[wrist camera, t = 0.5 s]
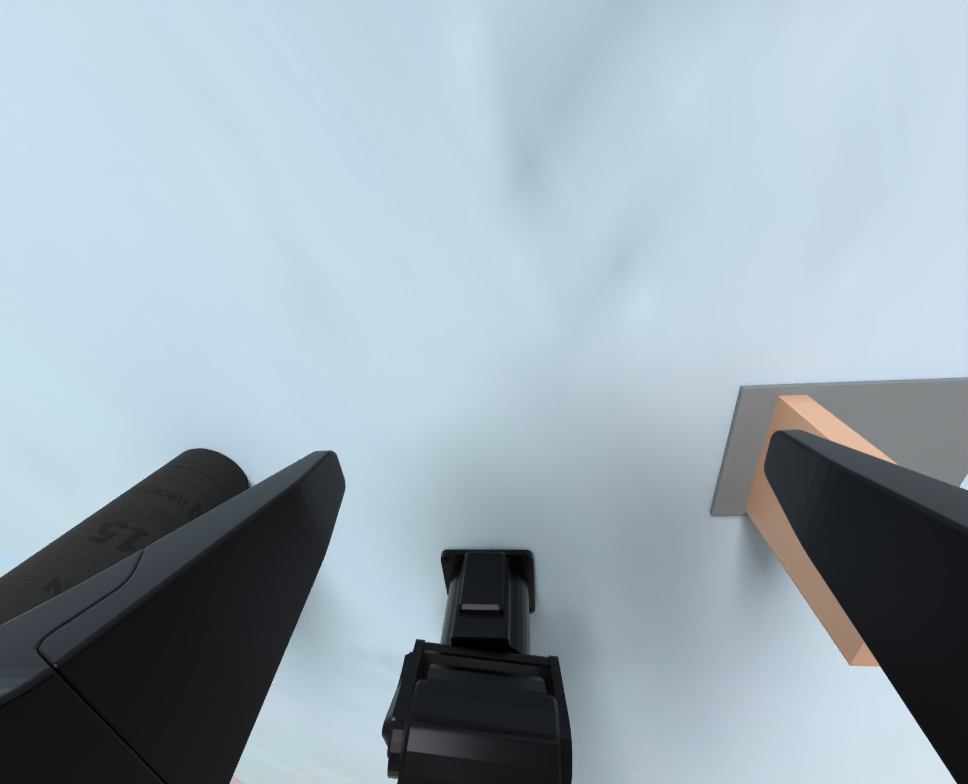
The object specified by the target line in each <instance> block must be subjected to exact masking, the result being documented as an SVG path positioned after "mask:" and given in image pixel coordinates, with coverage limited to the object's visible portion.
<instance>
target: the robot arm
mask: <svg viewBox="0 0 968 784" xmlns="http://www.w3.org/2000/svg"><path fill="white" fill-rule="evenodd" d="M764 473H765V476H766V478H767V480H768V482H769V484H770V486H771V488H772V490H773V492H774V494H775V496H776V498H777V500H778V502H779V504H780V506H781V508H782V510H783V512H784V514H785V516H786V517H787V519H788V521H789V523H790V525H791V527H792V529H793V531H794V533H795V535H796V537H797V538H798V540H799V542H800V544H801V546H802V547H803V549H804V550H805V552H806V554H807V555H808V557H809V558H810V560H811V561H812V563H813V565H814V566H815V568H816V569H817V571H818V572H819V574H820V575H821V577H822V578H823V580H824V581H825V583H826V584H827V586H828V587H829V589H830V590H831V592H832V594H833V595H834V597H835V598H836V600H837V601H838V603H839V604H840V606H841V607H842V609H843V610H844V612H845V613H846V615H847V616H848V618H849V619H850V621H851V623H852V624H853V626H854V627H855V629H856V630H857V632H858V633H859V635H860V636H861V638H862V639H863V641H864V642H865V644H866V645H867V647H868V648H869V650H870V652H871V653H872V655H873V656H874V658H875V659H876V661H877V662H878V664H879V665H880V667H881V668H882V670H883V671H884V673H885V674H886V676H887V677H888V679H889V681H890V682H891V684H892V685H893V687H894V688H895V690H896V691H897V693H898V694H899V696H900V697H901V699H902V700H903V702H904V703H905V705H906V706H907V708H908V710H909V711H910V713H911V714H912V716H913V717H914V719H915V720H916V722H917V723H918V725H919V726H920V728H921V729H922V731H923V732H924V734H925V735H926V737H927V739H928V740H929V742H930V743H931V745H932V746H933V748H934V749H935V751H936V752H937V754H938V755H939V757H940V758H941V760H942V761H943V763H944V765H945V766H946V768H947V769H948V771H949V772H950V774H951V775H952V777H953V778H954V780H955V781H956V783H957V784H968V490H965V489H963V488H960V487H957V486H954V485H952V484H949V483H946V482H943V481H941V480H938V479H935V478H932V477H930V476H927V475H924V474H921V473H919V472H916V471H913V470H910V469H908V468H905V467H902V466H899V465H897V464H894V463H891V462H888V461H886V460H883V459H880V458H877V457H875V456H872V455H869V454H866V453H864V452H861V451H858V450H855V449H853V448H850V447H847V446H844V445H842V444H839V443H836V442H833V441H831V440H828V439H825V438H822V437H820V436H817V435H814V434H811V433H809V432H806V431H803V430H800V429H786V430H777V431H775V432H773V434H772V435H771V438H770V442H769V445H768V449H767V453H766V457H765V461H764ZM344 492H345V479H344V476H343V472H342V469H341V466H340V463H339V460H338V457H337V455H336V453H335V452H333V451H315V452H313V453H311V454H309V455H307V456H306V457H304V458H302V459H300V460H299V461H297V462H295V463H293V464H292V465H290V466H288V467H286V468H285V469H283V470H281V471H279V472H277V473H276V474H274V475H272V476H270V477H269V478H267V479H265V480H263V481H262V482H260V483H258V484H256V485H255V486H253V487H251V488H249V489H248V490H246V491H244V492H242V493H240V494H239V495H237V496H235V497H233V498H232V499H230V500H228V501H226V502H225V503H223V504H221V505H219V506H218V507H216V508H214V509H212V510H210V511H209V512H207V513H205V514H203V515H202V516H200V517H198V518H196V519H195V520H193V521H191V522H189V523H188V524H186V525H184V526H182V527H181V528H179V529H177V530H175V531H173V532H172V533H170V534H168V535H166V536H165V537H163V538H161V539H159V540H158V541H156V542H154V543H152V544H151V545H149V546H147V547H146V548H145V550H140V551H138V552H136V553H135V554H133V555H131V556H129V557H127V558H126V559H124V560H122V561H120V562H119V563H117V564H115V565H113V566H111V567H110V568H108V569H106V570H104V571H102V572H101V573H99V574H97V575H95V576H93V577H92V578H90V579H88V580H86V581H84V582H83V583H81V584H79V585H77V586H75V587H73V588H71V589H69V590H67V591H66V592H64V593H62V594H60V595H58V596H56V597H54V598H52V599H50V600H48V601H47V602H45V603H43V604H41V605H39V606H37V607H35V608H33V609H31V610H29V611H27V612H26V613H24V614H22V615H20V616H18V617H16V618H14V619H12V620H10V621H8V622H6V623H4V624H2V625H0V784H230V781H231V779H232V776H233V774H234V772H235V769H236V767H237V764H238V762H239V760H240V757H241V755H242V753H243V750H244V748H245V745H246V743H247V741H248V738H249V736H250V733H251V731H252V729H253V726H254V724H255V722H256V719H257V717H258V714H259V712H260V710H261V707H262V705H263V703H264V700H265V698H266V695H267V693H268V691H269V688H270V686H271V683H272V681H273V679H274V676H275V674H276V672H277V669H278V667H279V664H280V662H281V660H282V657H283V655H284V653H285V650H286V648H287V645H288V643H289V641H290V638H291V636H292V633H293V631H294V629H295V626H296V624H297V622H298V619H299V617H300V614H301V612H302V610H303V607H304V605H305V603H306V600H307V598H308V595H309V593H310V591H311V588H312V586H313V583H314V581H315V579H316V576H317V574H318V572H319V569H320V567H321V564H322V562H323V559H324V557H325V554H326V551H327V548H328V545H329V542H330V539H331V536H332V532H333V529H334V526H335V522H336V519H337V516H338V512H339V509H340V506H341V502H342V499H343V496H344ZM441 563H442V569H443V574H444V579H445V584H446V589H447V594H448V600H447V606H446V612H445V618H444V625H443V631H442V637H441V643H440V644H438V643H430V642H425V640H420V639H416V642H415V646H414V649H413V652H410V653H409V654H407V655H405V659H404V663H403V667H402V671H401V676H400V680H399V683H398V686H397V689H396V692H395V695H394V697H393V700H392V702H391V705H390V708H389V710H388V713H387V715H386V718H385V721H384V724H383V729H382V736H383V738H384V740H385V742H386V744H387V746H388V751H387V758H389V760H388V778H394V779H398V783H397V784H571V781H572V740H571V729H570V722H569V716H568V711H567V705H566V699H565V694H564V688H563V683H562V677H561V671H560V666H559V660H558V656H550V655H549V656H548V657H544V656H536V655H530V625H529V614H530V613H533V612H534V611H535V599H534V572H533V554H532V552H531V551H528V550H445V551H443V552H442V554H441Z"/></svg>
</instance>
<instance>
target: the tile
mask: <svg viewBox="0 0 968 784" xmlns="http://www.w3.org/2000/svg"><path fill="white" fill-rule="evenodd" d="M786 429H800V430H803V431H806V432H809V433H811V434H814V435H817V436H820V437H822V438H825V439H828V440H831V441H833V442H836V443H839V444H842V445H844V446H847V447H850V448H853V449H855V450H858V451H861V452H864V453H866V454H869V455H872V456H875V457H877V458H880V459H883V460H886V461H888V462H891V463H894V464H897V463H895V462H894V461H893V460H891V459H890V458H889V457H888V456H886V455H885V454H884V453H882V452H881V451H880V450H878V449H877V448H876V447H874V446H873V445H872V444H871V443H869V442H868V441H867V440H865V439H864V438H863V437H861V436H860V435H859V434H857V433H856V432H855V431H854V430H852V429H851V428H850V427H848V426H847V425H846V424H844V423H843V422H842V421H840V420H839V419H838V418H837V417H835V416H834V415H833V414H831V413H830V412H829V411H827V410H826V409H825V408H823V407H822V406H821V405H820V404H818V403H817V402H816V401H814V400H813V399H812V398H810V397H809V396H808V395H786V396H778V397H777V401H776V404H775V408H774V411H773V414H772V418H771V421H770V425H769V428H768V431H767V435H766V438H765V441H764V445H763V448H762V452H761V455H760V458H759V462H758V465H757V468H756V472H755V475H754V479H753V482H752V485H751V489H750V492H749V496H748V499H747V502H746V506H745V509H744V510H745V511H746V513H747V514H748V516H749V517H750V519H751V520H752V521H753V523H754V524H755V526H756V527H757V529H758V530H759V532H760V533H761V535H762V536H763V538H764V539H765V541H766V542H767V544H768V545H769V547H770V548H771V550H772V551H773V553H774V554H775V556H776V557H777V558H778V560H779V561H780V563H781V564H782V566H783V567H784V569H785V570H786V572H787V573H788V575H789V576H790V578H791V579H792V581H793V582H794V584H795V585H796V587H797V588H798V590H799V591H800V593H801V594H802V595H803V597H804V598H805V600H806V601H807V603H808V604H809V606H810V607H811V609H812V610H813V612H814V613H815V615H816V616H817V618H818V619H819V621H820V622H821V624H822V625H823V627H824V628H825V630H826V631H827V632H828V634H829V635H830V637H831V638H832V640H833V641H834V643H835V644H836V646H837V647H838V649H839V650H840V652H841V653H842V655H843V656H844V658H845V659H846V661H847V662H848V664H849V665H850V666H880V665H879V664H878V662H877V661H876V659H875V658H874V656H873V655H872V653H871V652H870V650H869V648H868V647H867V645H866V644H865V642H864V641H863V639H862V638H861V636H860V635H859V633H858V632H857V630H856V629H855V627H854V626H853V624H852V623H851V621H850V619H849V618H848V616H847V615H846V613H845V612H844V610H843V609H842V607H841V606H840V604H839V603H838V601H837V600H836V598H835V597H834V595H833V594H832V592H831V590H830V589H829V587H828V586H827V584H826V583H825V581H824V580H823V578H822V577H821V575H820V574H819V572H818V571H817V569H816V568H815V566H814V565H813V563H812V561H811V560H810V558H809V557H808V555H807V554H806V552H805V550H804V549H803V547H802V546H801V544H800V542H799V540H798V538H797V537H796V535H795V533H794V531H793V529H792V527H791V525H790V523H789V521H788V519H787V517H786V516H785V514H784V512H783V510H782V508H781V506H780V504H779V502H778V500H777V498H776V496H775V494H774V492H773V490H772V488H771V486H770V484H769V482H768V480H767V478H766V476H765V473H764V461H765V457H766V453H767V449H768V445H769V442H770V438H771V435H772V434H773V432H775V431H777V430H786ZM897 465H898V464H897Z"/></svg>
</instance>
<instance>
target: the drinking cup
mask: <svg viewBox="0 0 968 784" xmlns="http://www.w3.org/2000/svg"><path fill="white" fill-rule="evenodd" d="M246 490H248V484H247V479H246V477H245V475H244V473H243V472H242V470H241V469H240V468H239V467H238V466H237V465H236V464H235V463H234V462H233V461H232V460H230V459H229V458H227V457H226V456H224V455H222V454H220V453H218V452H215V451H212V450H208V449H191V450H187V451H185V452H183V453H182V454H180V455H179V456H177V457H176V458H174V459H173V460H172V461H170V462H169V463H167V464H166V465H164V466H163V467H161V468H160V469H158V470H157V471H155V472H154V473H153V474H151V475H150V476H148V477H147V478H145V479H144V480H142V481H141V482H139V483H138V484H137V485H135V486H134V487H132V488H131V489H129V490H128V491H126V492H125V493H123V494H122V495H120V496H119V497H118V498H116V499H115V500H113V501H112V502H110V503H109V504H107V505H106V506H104V507H103V508H101V509H100V510H99V511H97V512H96V513H94V514H93V515H91V516H90V517H88V518H87V519H85V520H84V521H83V522H81V523H80V524H78V525H77V526H75V527H74V528H72V529H71V530H69V531H68V532H66V533H65V534H64V535H62V536H61V537H59V538H58V539H56V540H55V541H53V542H52V543H50V544H49V545H47V546H46V547H45V548H43V549H42V550H40V551H39V552H37V553H36V554H34V555H33V556H31V557H30V558H28V559H27V560H26V561H24V562H23V563H21V564H20V565H18V566H17V567H15V568H14V569H12V570H11V571H10V572H8V573H7V574H5V575H4V576H2V577H1V578H0V625H2V624H4V623H6V622H8V621H10V620H12V619H14V618H16V617H18V616H20V615H22V614H24V613H26V612H27V611H29V610H31V609H33V608H35V607H37V606H39V605H41V604H43V603H45V602H47V601H48V600H50V599H52V598H54V597H56V596H58V595H60V594H62V593H64V592H66V591H67V590H69V589H71V588H73V587H75V586H77V585H79V584H81V583H83V582H84V581H86V580H88V579H90V578H92V577H93V576H95V575H97V574H99V573H101V572H102V571H104V570H106V569H108V568H110V567H111V566H113V565H115V564H117V563H119V562H120V561H122V560H124V559H126V558H127V557H129V556H131V555H133V554H135V553H136V552H138V551H140V550H145V548H146V547H147V546H149V545H151V544H152V543H154V542H156V541H158V540H159V539H161V538H163V537H165V536H166V535H168V534H170V533H172V532H173V531H175V530H177V529H179V528H181V527H182V526H184V525H186V524H188V523H189V522H191V521H193V520H195V519H196V518H198V517H200V516H202V515H203V514H205V513H207V512H209V511H210V510H212V509H214V508H216V507H218V506H219V505H221V504H223V503H225V502H226V501H228V500H230V499H232V498H233V497H235V496H237V495H239V494H240V493H242V492H244V491H246Z"/></svg>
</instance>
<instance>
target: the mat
mask: <svg viewBox="0 0 968 784" xmlns="http://www.w3.org/2000/svg"><path fill="white" fill-rule="evenodd" d="M786 395H808V396H809V397H810V398H812V399H813V400H814V401H816V402H817V403H818V404H820V405H821V406H822V407H823V408H825V409H826V410H827V411H829V412H830V413H831V414H833V415H834V416H835V417H837V418H838V419H839V420H840V421H842V422H843V423H844V424H846V425H847V426H848V427H850V428H851V429H852V430H854V431H855V432H856V433H857V434H859V435H860V436H861V437H863V438H864V439H865V440H867V441H868V442H869V443H871V444H872V445H873V446H874V447H876V448H877V449H878V450H880V451H881V452H882V453H884V454H885V455H886V456H888V457H889V458H890V459H891V460H893V461H894V462H895V463H897V464H898V465H899V466H902V467H905V468H908V469H910V470H913V471H916V472H919V473H921V474H924V475H927V476H930V477H932V478H935V479H938V480H941V481H943V482H946V483H949V484H952V485H954V486H957V487H960V485H961V483H962V482H963V480H964V478H965V477H966V475H967V474H968V378H942V379H916V380H889V381H862V382H835V383H808V384H782V385H755V386H741V387H740V391H739V396H738V400H737V404H736V408H735V412H734V416H733V420H732V424H731V428H730V433H729V437H728V441H727V445H726V449H725V453H724V457H723V461H722V465H721V470H720V474H719V478H718V482H717V486H716V490H715V494H714V498H713V502H712V507H711V511H710V513H711V514H712V516H731V515H748V514H747V513H746V511H745V510H744V509H745V506H746V502H747V499H748V496H749V492H750V489H751V485H752V482H753V479H754V475H755V472H756V468H757V465H758V462H759V458H760V455H761V452H762V448H763V445H764V441H765V438H766V435H767V431H768V428H769V425H770V421H771V418H772V414H773V411H774V408H775V404H776V401H777V397H778V396H786Z"/></svg>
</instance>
